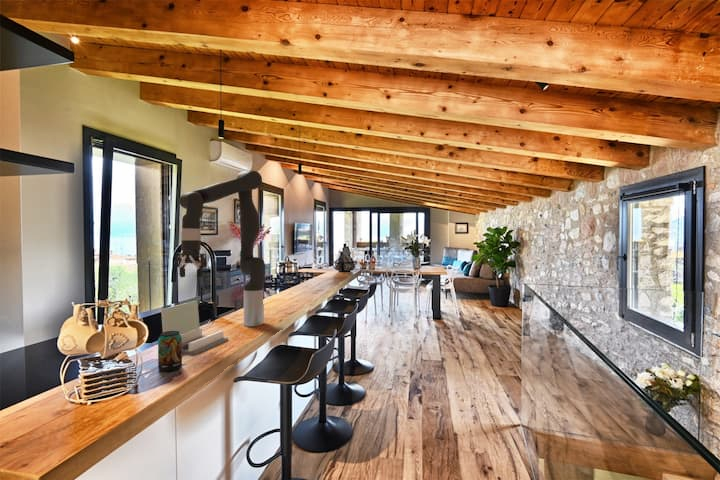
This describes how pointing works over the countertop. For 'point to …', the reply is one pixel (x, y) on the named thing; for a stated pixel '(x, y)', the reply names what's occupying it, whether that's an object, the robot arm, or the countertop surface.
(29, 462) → the countertop surface
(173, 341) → the beverage can
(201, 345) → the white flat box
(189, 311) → the cover
